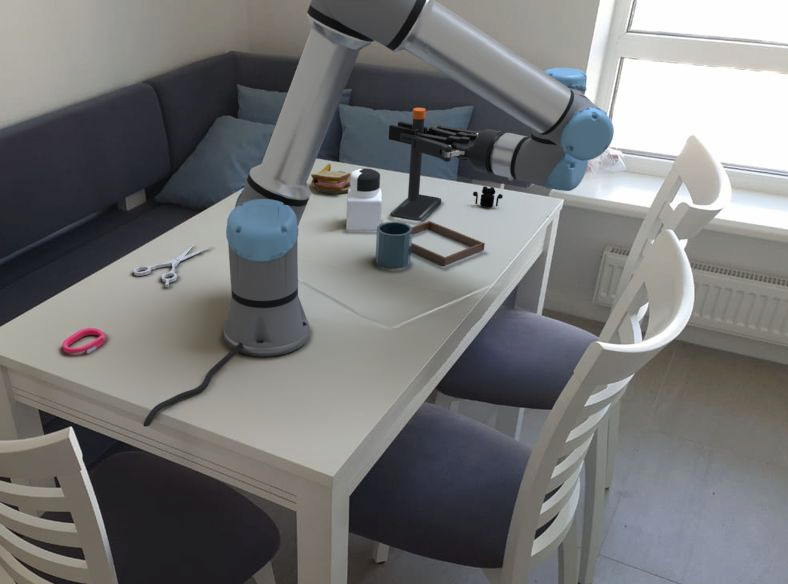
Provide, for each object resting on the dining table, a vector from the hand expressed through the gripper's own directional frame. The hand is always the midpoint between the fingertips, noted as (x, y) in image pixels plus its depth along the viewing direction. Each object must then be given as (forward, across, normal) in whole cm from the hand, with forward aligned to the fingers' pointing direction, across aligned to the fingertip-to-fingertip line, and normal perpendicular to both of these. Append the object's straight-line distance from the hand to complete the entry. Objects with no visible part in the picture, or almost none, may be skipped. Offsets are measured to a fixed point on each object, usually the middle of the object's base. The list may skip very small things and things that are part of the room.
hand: (394, 130), depth 158 cm
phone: (+9, +23, -26) cm, 36 cm away
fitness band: (+17, -67, -26) cm, 74 cm away
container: (+13, +8, -26) cm, 30 cm away
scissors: (+30, -34, -26) cm, 52 cm away
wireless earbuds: (-2, +36, -26) cm, 45 cm away
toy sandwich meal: (+34, +24, -26) cm, 49 cm away
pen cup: (-4, -4, -26) cm, 27 cm away
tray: (-7, +8, -26) cm, 28 cm away
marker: (-6, 0, -13) cm, 14 cm away
